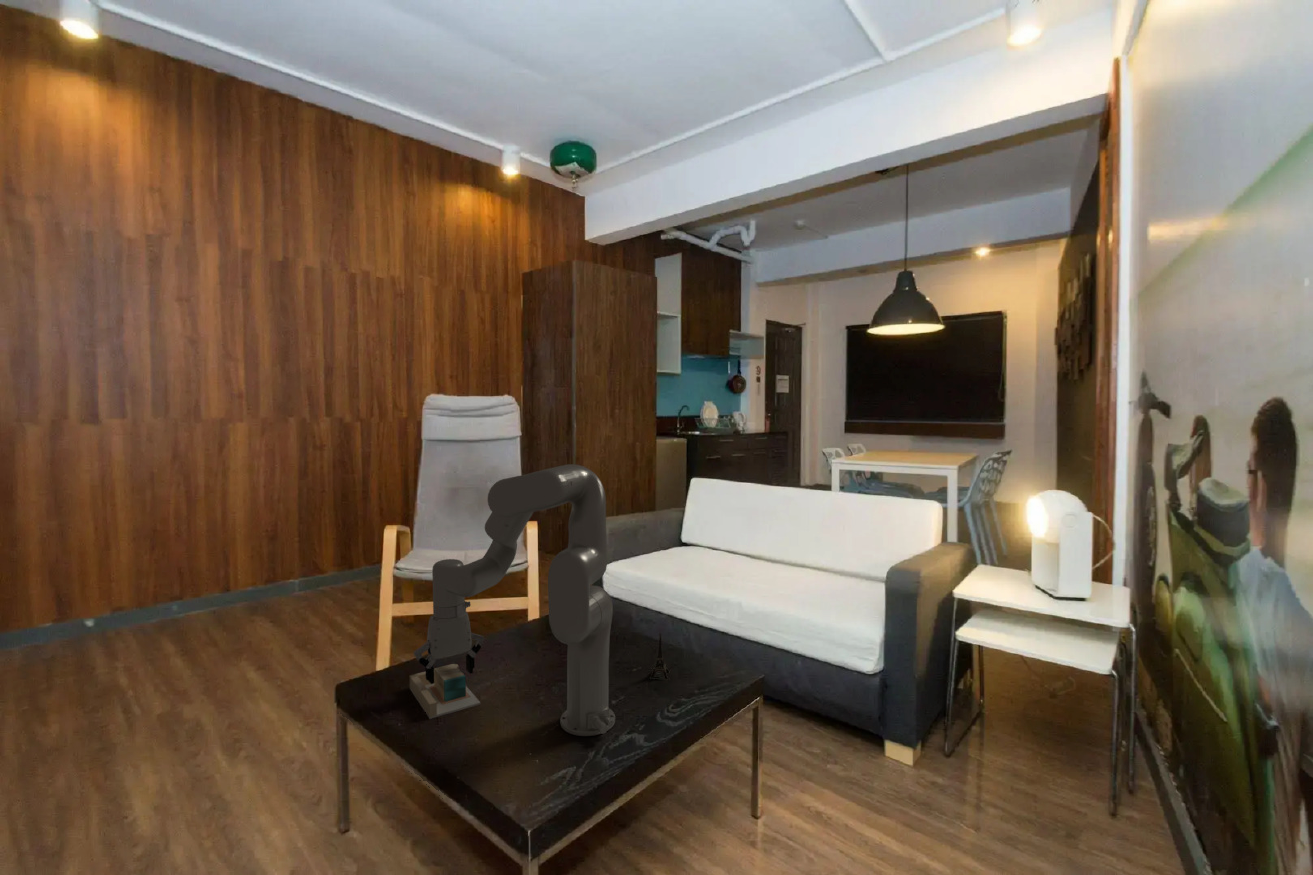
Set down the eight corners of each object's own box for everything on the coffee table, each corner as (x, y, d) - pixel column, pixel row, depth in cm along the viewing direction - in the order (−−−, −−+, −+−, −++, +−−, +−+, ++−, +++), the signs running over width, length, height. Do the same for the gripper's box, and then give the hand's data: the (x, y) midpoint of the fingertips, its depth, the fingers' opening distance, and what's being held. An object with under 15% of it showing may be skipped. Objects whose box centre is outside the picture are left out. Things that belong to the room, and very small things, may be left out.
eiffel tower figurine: (694, 682, 163) (694, 633, 162) (664, 693, 157) (664, 642, 156) (659, 663, 175) (660, 617, 174) (630, 672, 168) (630, 625, 168)
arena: (480, 704, 149) (480, 690, 148) (429, 719, 142) (429, 704, 141) (456, 676, 163) (456, 663, 163) (409, 688, 156) (409, 675, 156)
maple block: (453, 682, 159) (453, 663, 158) (465, 696, 152) (465, 676, 151) (434, 687, 156) (434, 668, 155) (445, 701, 149) (445, 681, 148)
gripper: (477, 599, 160) (479, 662, 161) (409, 612, 150) (410, 680, 151) (488, 607, 154) (489, 673, 155) (417, 621, 144) (418, 692, 145)
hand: (450, 676), depth 153 cm, fingers open, 9 cm apart
